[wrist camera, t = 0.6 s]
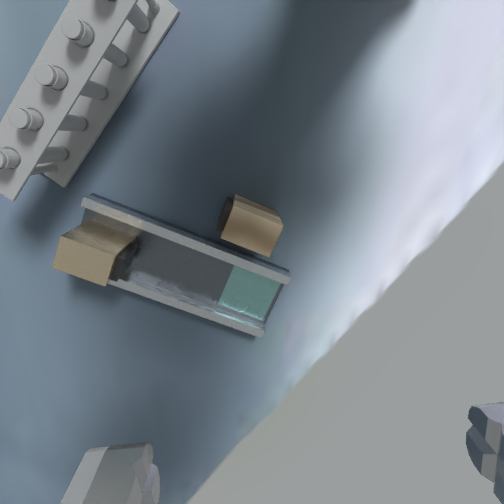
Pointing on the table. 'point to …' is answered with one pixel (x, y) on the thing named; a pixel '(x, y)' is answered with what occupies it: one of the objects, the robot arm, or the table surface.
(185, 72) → the table surface
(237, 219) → the wooden block
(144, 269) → the rail
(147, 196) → the table surface
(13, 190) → the test tube rack
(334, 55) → the table surface
